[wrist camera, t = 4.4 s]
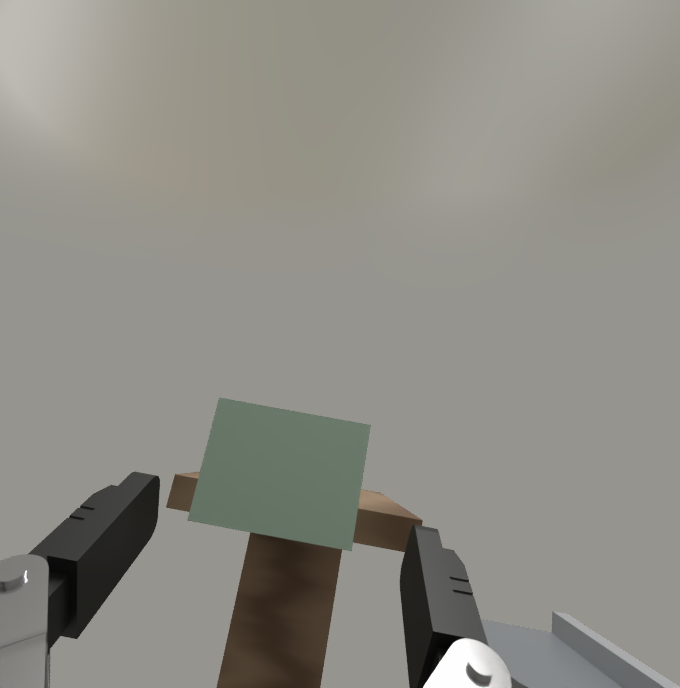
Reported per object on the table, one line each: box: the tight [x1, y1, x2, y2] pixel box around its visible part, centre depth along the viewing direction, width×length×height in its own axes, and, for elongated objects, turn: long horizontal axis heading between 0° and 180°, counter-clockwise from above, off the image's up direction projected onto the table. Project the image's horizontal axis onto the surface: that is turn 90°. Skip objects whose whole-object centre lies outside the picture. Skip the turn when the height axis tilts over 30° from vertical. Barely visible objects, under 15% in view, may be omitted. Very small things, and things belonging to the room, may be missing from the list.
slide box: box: [188, 398, 371, 551], centre depth 23 cm, size 4×26×3 cm, turn 2°
